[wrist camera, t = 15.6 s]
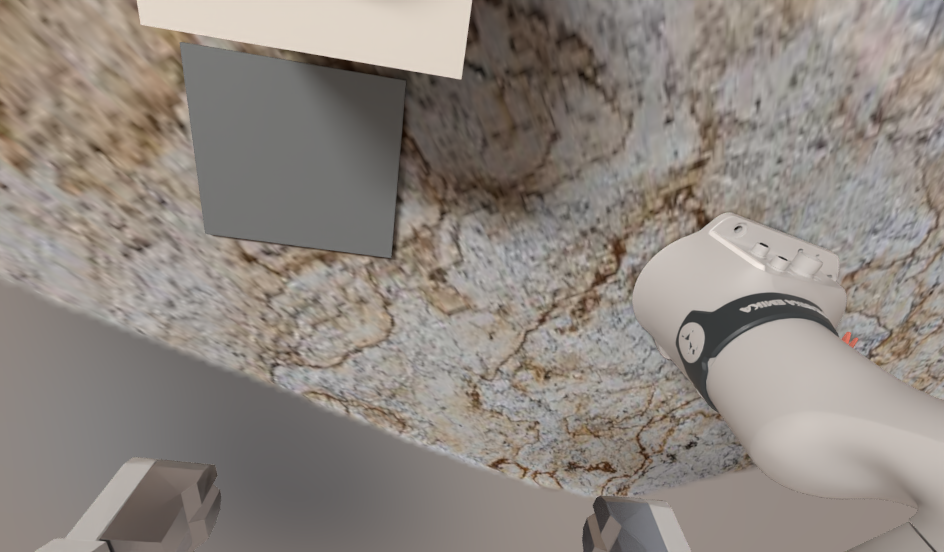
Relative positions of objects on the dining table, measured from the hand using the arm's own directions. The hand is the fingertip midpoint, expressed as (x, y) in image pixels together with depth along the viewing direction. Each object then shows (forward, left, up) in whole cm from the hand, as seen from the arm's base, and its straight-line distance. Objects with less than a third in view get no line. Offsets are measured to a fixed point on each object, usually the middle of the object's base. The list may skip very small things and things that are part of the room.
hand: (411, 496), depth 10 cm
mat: (+14, +4, -37) cm, 40 cm away
